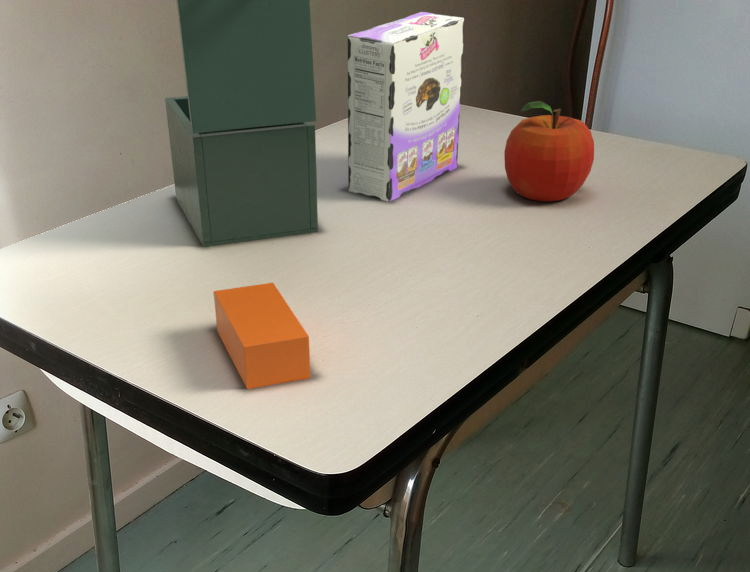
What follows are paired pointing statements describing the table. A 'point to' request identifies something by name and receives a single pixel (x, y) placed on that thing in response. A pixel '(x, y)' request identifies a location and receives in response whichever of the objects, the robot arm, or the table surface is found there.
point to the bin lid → (247, 63)
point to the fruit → (548, 155)
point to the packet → (262, 335)
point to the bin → (243, 178)
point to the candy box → (403, 104)
